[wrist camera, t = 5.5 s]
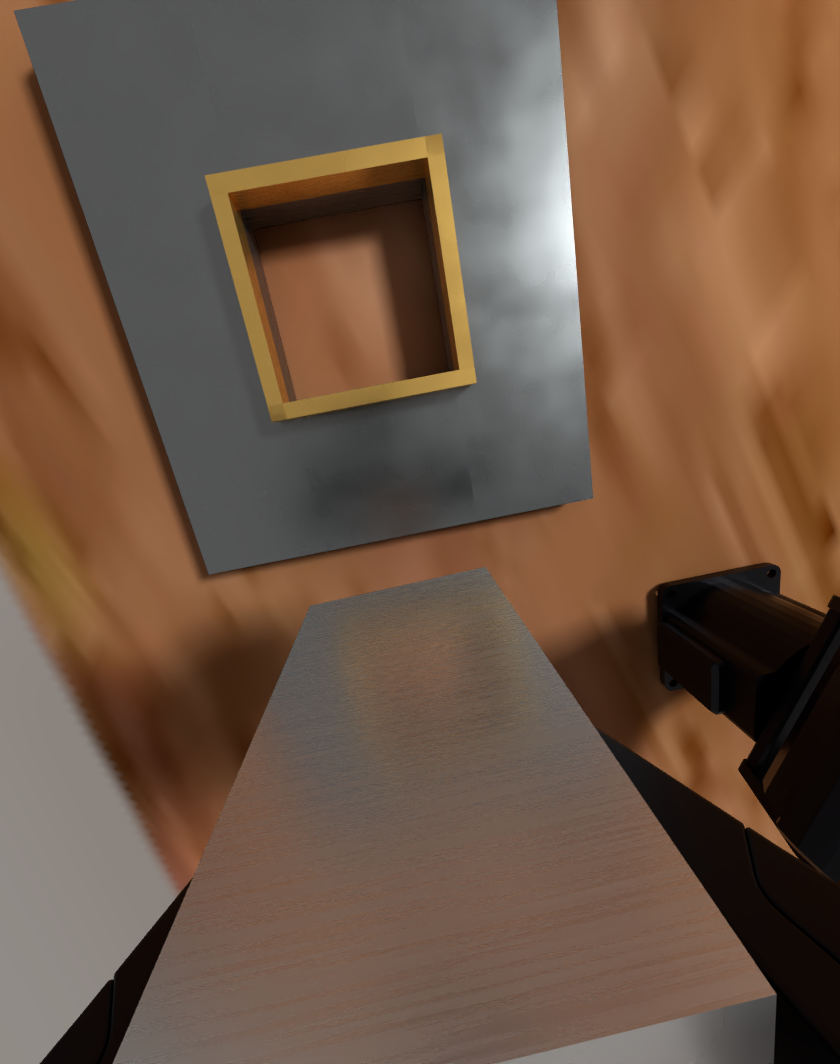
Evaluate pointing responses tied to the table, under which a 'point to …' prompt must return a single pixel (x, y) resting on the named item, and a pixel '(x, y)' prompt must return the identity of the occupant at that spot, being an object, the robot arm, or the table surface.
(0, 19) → the table surface
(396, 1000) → the brushed metal block
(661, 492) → the table surface
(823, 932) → the robot arm
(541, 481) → the grey peg insertion board
